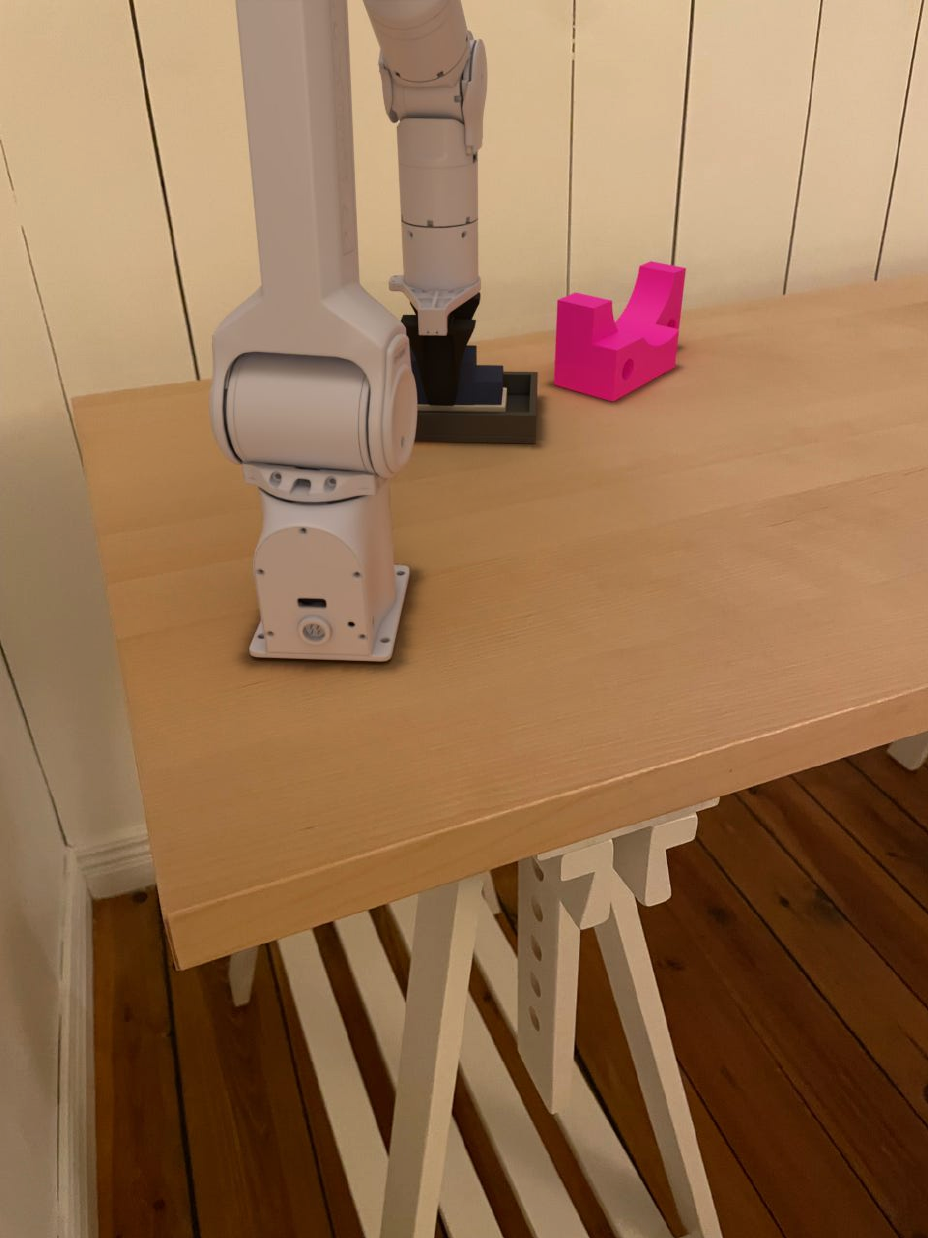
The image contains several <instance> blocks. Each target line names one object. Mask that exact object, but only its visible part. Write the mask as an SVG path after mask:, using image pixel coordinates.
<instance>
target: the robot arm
mask: <svg viewBox="0 0 928 1238" xmlns="http://www.w3.org/2000/svg"><path fill="white" fill-rule="evenodd" d="M362 2H363V5H364V8H365V10H366V13H367V15H368V16H367V17H368V19H369V21H370V24H371V27H372V29H373V32H374V36H375V38H376V41H377V42H378V46H379V54H378V61H377V65H378V73H379V75H380V79H381V89H382V90H381V91H382V99H383V105H384V110H385V114H386V116H387V117H388V119H389V121H390V122H391V123H392V124H397V123H398V122H399V123H398V124H397V125H396V144H397V146H396V147H397V165H398V183H399V185H398V186H399V204H400V224H401V225H400V227H401V247H402V249H401V250H402V269H403V271H402V272H403V274H394V275H391V276H390V277H389V279H388V290H389V291H391V292H401V293H403V295H404V296H405V297H406V298H407V300H408V301H409V305H410V307H411V309H412V310H413V312H414V314H402V317H401V318H400V319H399V318H398V317H396V315H394V314H393V313H392V312H391V310H389V309H388V308H386V307H385V306H384V305H383V304H382V303H381V302H379V301H378V300H377V299H376V298H375V297H374V296H373V295H372V294H371V293H370V292H369V291H367V289H365V288H364V287H363V286H362V284H361V281H360V264H359V262H360V259H359V240H358V215H357V194H356V193H357V192H356V170H355V169H356V168H355V148H354V126H353V125H354V123H353V103H352V82H351V81H352V79H351V78H352V77H351V56H350V36H349V35H350V34H349V33H350V31H349V11H348V9H349V8H348V0H235V11H236V13H235V14H236V24H237V33H238V43H239V56H240V66H241V67H240V68H241V76H242V77H241V79H242V87H243V88H242V89H243V99H244V110H245V120H246V131H247V143H248V152H249V165H250V176H251V186H252V187H251V188H252V196H253V207H254V219H255V229H256V230H255V231H256V240H257V250H258V251H257V252H258V262H259V272H260V286H259V287H258V288H257V290H256V291H254V292H253V294H251V295H250V296H249V297H247V298H246V299H245V300H243V302H241V303H239V305H238V306H236V307H235V308H233V310H232V311H230V312H229V313H228V314H227V315H226V316H225V317H224V318H223V319H222V320H221V321H220V322H219V324H218V326H217V327H216V329H215V330H214V332H213V333H212V335H211V352H212V353H211V354H212V355H211V356H212V378H211V382H210V388H209V395H208V397H209V398H208V413H209V414H208V415H209V422H210V427H211V428H210V429H211V432H212V435H213V438H214V440H215V442H216V444H217V446H218V448H219V449H220V451H221V453H222V455H223V456H224V458H225V459H226V460H227V461H228V462H230V463H232V464H233V465H238V466H241V469H242V474H243V483H245V484H246V485H252V486H256V487H257V494H258V500H259V501H258V502H259V507H260V514H261V520H262V527H261V532H260V535H259V538H258V542H257V544H256V547H255V550H254V553H253V557H252V571H253V578H254V584H255V590H256V596H257V602H258V609H259V613H260V621H259V624H258V626H257V628H256V630H255V632H254V635H253V638H252V640H251V642H250V645H249V648H248V649H249V654H250V656H251V657H254V658H269V659H294V660H295V659H296V660H298V659H299V660H325V661H326V660H329V661H355V662H357V661H358V662H387V661H389V660H390V659H392V657H393V653H394V647H395V643H396V639H397V634H398V630H399V625H400V620H401V616H402V611H403V607H404V603H405V599H406V594H407V589H408V585H409V580H410V576H411V571H410V569H411V568H410V567H409V566H407V565H404V564H395V553H394V551H395V549H394V537H393V535H394V534H393V522H392V521H393V519H392V507H391V505H392V504H391V491H390V489H391V488H390V479H393V478H395V477H396V476H397V475H398V474H399V473H400V472H401V470H402V469H404V467H406V465H407V464H408V462H409V460H410V458H411V455H412V452H413V448H414V445H415V441H414V439H415V433H416V425H417V390H416V383H415V379H414V375H413V373H412V369H411V361H410V349H409V345H410V347H411V349H412V351H413V353H414V356H415V358H416V361H417V364H418V367H419V371H420V375H421V379H422V383H423V387H424V391H425V395H426V398H427V401H428V404H429V405H430V406H454V404H455V400H456V396H457V392H458V386H459V379H460V371H461V364H462V358H463V355H464V351H465V348H466V346H467V345H468V343H469V341H470V340H471V337H472V335H473V333H474V330H475V328H476V324H477V320H476V319H473V318H474V316H475V314H476V311H477V310H478V307H479V306H480V303H481V299H482V298H481V297H482V296H481V290H482V278H481V276H480V275H479V159H478V158H479V155H478V154H479V150H480V149H482V147H483V138H484V116H485V115H484V114H485V113H484V112H485V108H486V107H485V106H486V101H487V94H488V91H487V90H488V59H487V51H486V47H485V43H484V41H483V40H482V39H481V38H478V39H475V38H474V36H473V32H472V31H471V30H470V29H468V26H467V21H466V18H465V13H464V10H463V4H462V0H362Z"/></svg>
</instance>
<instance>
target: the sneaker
mask: <svg viewBox="0 0 928 1238" xmlns="http://www.w3.org/2000/svg"><path fill="white" fill-rule="evenodd" d="M477 348H478V347H477V345H473V344H472V345H471V344H467V346H466V348H465V351H464V355H463V358H462V364H461V371H460V379H459V386H458V392H457V396H456V400H455V404H454V406H430V405H429V404H428V401H427V398H426V395H425V391H424V387H423V383H422V379H421V375H420V371H419V367H418V364H417V361H416V358H415V356H414V353H413V351H412V349H411V347H410V345H409V349H410V361H411V369H412V373H413V375H414V379H415V383H416V390H417V410H419V411H479V412H506V403H507V388H503V371H504V365H502V364H501V365H499V364H478V359H477V358H478V357H477V356H478V354H477V353H478V350H477Z"/></svg>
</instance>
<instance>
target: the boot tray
mask: <svg viewBox="0 0 928 1238" xmlns="http://www.w3.org/2000/svg"><path fill="white" fill-rule="evenodd" d="M538 379H539V372H538V371H504V370H503V388H507V403H506V412H479V411H419V410H417V425H416V433H415V439H414V442H424V443H425V442H429V443H430V442H431V443H432V442H433V443H435V442H438V443H440V442H441V443H479V444H482V443H485V444H486V443H487V444H532V445H533V444H537V443H536V442H537V416H538V415H537V413H538V412H537V410H538Z"/></svg>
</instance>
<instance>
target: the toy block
mask: <svg viewBox="0 0 928 1238" xmlns="http://www.w3.org/2000/svg"><path fill="white" fill-rule="evenodd" d="M686 272H687V267H682V266H678V265H672V264H669V263H668V264H667V263H662V262H657V261H652V260H651V261H649V262H645V263H643V264H640V265H639V267H638V272H637V276H636V281H635V284H634V287H633V290H632V293H631V295H630V298H629V300H628V302H627V304H626V305H625V308H624V309H623V311H622V312H621V314H620V315H619V317H618V318H617V319H616V320H615V317H614V313H613V312H614V310H613V300H611V299H607V298H602V297H598V296H593V295H589V294H585V293H580V292H573V293H570V294H569V295H566V296H563V297H561V298H558V299H557V300H556V325H555V348H554V373H553V385H554V386H556V387H557V386H558V387H561V388H564V389H567V390H571V391H574V392H578V393H581V394H585V395H589V396H592V397H595V398H599V399H602V400H604V401H609V402H613V403H614V402H615V401H617V400H619V399H621V398H623V397H624V396H626V395H627V394H629V393H631V392H633V391H635V390H637V389H638V388H641V387H642V386H644V385H646V384H648V383H649V382H651V381H653V380H655V379H656V378H658V377H660V376H662V375H663V374H666V373H667V372H669V371H670V370H673V369H674V368H676V360H677V351H678V344H679V335H680V325H681V317H682V316H681V314H682V309H683V308H682V306H683V298H684V291H685V282H686V281H685V280H686Z"/></svg>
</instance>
